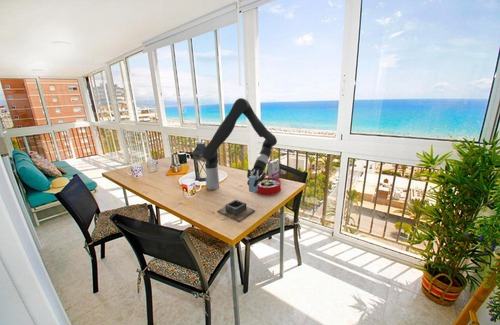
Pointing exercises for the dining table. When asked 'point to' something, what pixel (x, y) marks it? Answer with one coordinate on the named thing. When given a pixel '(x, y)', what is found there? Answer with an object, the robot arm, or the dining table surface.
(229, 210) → the cradle jig
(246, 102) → the robot arm
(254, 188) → the light blue square peg
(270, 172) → the candy bar box
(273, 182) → the toy clock
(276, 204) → the dining table surface
